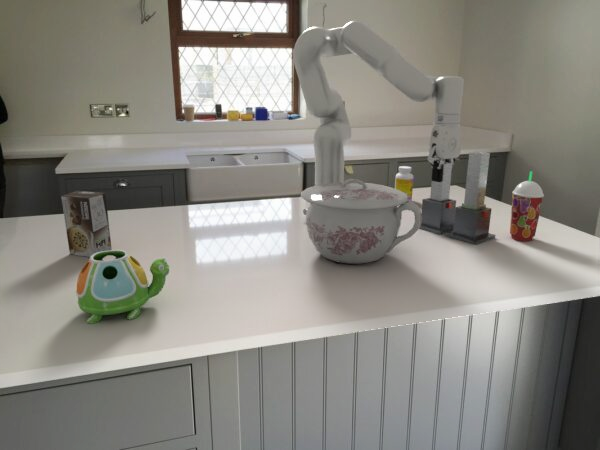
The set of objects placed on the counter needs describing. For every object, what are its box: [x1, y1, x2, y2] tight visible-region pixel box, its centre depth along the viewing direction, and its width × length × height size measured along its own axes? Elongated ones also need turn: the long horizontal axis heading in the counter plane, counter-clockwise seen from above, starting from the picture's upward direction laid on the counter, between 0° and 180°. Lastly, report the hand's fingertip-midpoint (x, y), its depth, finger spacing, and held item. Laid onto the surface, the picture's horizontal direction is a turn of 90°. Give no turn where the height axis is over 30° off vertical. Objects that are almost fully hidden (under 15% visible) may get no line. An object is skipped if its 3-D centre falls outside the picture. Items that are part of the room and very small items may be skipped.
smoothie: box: [509, 171, 545, 242], centre depth 145 cm, size 8×8×20 cm
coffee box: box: [61, 190, 113, 258], centre depth 131 cm, size 9×6×16 cm
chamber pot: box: [300, 178, 422, 265], centre depth 130 cm, size 28×28×21 cm
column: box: [429, 160, 453, 203], centre depth 154 cm, size 5×5×18 cm
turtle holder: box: [75, 249, 170, 324], centre depth 101 cm, size 12×18×12 cm
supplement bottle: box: [394, 165, 414, 203], centre depth 189 cm, size 7×7×13 cm
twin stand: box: [445, 150, 496, 245], centre depth 145 cm, size 10×10×25 cm
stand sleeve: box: [419, 197, 457, 235], centre depth 156 cm, size 10×10×9 cm
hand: (441, 179), depth 153 cm, fingers closed on column, 4 cm apart
